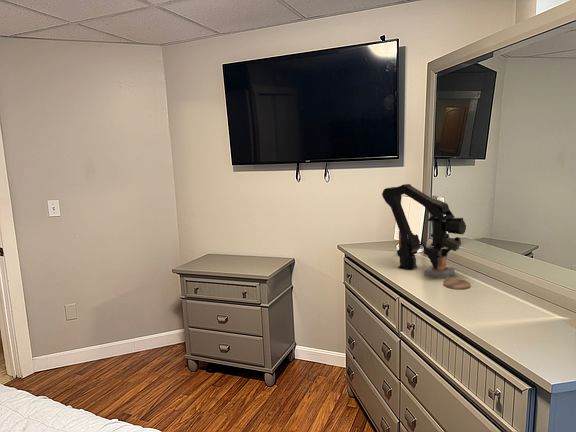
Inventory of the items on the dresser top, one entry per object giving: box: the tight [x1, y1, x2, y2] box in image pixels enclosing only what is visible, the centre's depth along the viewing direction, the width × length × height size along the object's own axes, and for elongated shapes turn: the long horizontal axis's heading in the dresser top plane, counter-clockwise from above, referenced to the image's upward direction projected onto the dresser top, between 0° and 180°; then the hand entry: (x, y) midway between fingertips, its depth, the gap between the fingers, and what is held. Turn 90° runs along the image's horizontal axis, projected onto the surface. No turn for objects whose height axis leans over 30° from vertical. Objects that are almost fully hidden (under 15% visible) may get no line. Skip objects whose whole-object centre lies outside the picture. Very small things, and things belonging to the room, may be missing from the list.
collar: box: [423, 264, 456, 280], centre depth 169 cm, size 10×10×2 cm
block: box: [433, 256, 447, 271], centre depth 169 cm, size 4×4×8 cm
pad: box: [442, 278, 471, 291], centre depth 155 cm, size 10×10×1 cm
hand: (439, 266), depth 169 cm, fingers open, 8 cm apart
